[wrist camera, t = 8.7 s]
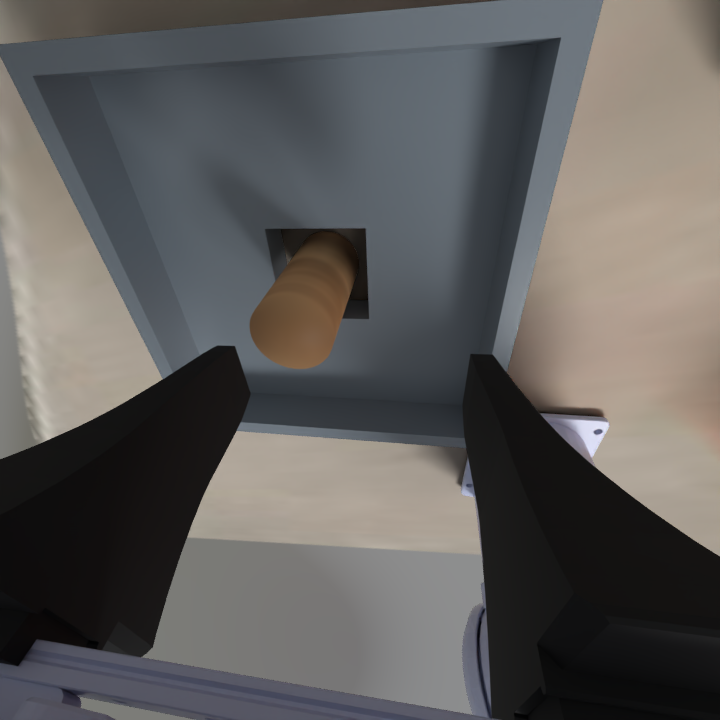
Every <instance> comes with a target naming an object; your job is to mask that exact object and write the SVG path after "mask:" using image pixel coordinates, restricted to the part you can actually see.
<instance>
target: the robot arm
mask: <svg viewBox="0 0 720 720" xmlns="http://www.w3.org/2000/svg"><path fill="white" fill-rule="evenodd" d="M250 395H251V393H250V390H249V387H248V384H247V381H246V378H245V375H244V372H243V369H242V365H241V362H240V359H239V356H238V353H237V350H236V347H235V346H221V345H217V346H215V347H213V348H211V349H210V350H208V351H206V352H205V353H203V354H201V355H200V356H198V357H197V358H195V359H193V360H192V361H190V362H189V363H187V364H186V365H184V366H183V367H181V368H180V369H178V370H176V371H175V372H173V373H172V374H170V375H169V376H167V377H166V378H164V379H163V380H161V381H159V382H158V383H156V384H155V385H153V386H151V387H150V388H148V389H146V390H145V391H143V392H141V393H140V394H138V395H136V396H135V397H133V398H131V399H130V400H128V401H126V402H125V403H123V404H121V405H119V406H118V407H116V408H114V409H112V410H110V411H108V412H106V413H105V414H103V415H101V416H99V417H97V418H95V419H93V420H91V421H89V422H87V423H85V424H83V425H81V426H79V427H77V428H74V429H72V430H70V431H68V432H65V433H63V434H61V435H58V436H56V437H54V438H52V439H49V440H47V441H45V442H43V443H40V444H38V445H36V446H34V447H31V448H29V449H26V450H24V451H21V452H19V453H16V454H13V455H11V456H8V457H6V458H3V459H0V720H115V719H113V718H111V717H110V716H108V715H105V714H101V713H98V712H93V711H90V710H86V709H82V708H81V701H80V698H79V697H84V698H89V699H94V700H99V701H104V702H109V703H114V704H119V705H124V706H129V707H135V708H140V709H145V710H150V711H155V712H160V713H165V714H170V715H175V716H180V717H186V718H190V719H196V720H720V556H718V555H716V554H715V553H713V552H712V551H710V550H708V549H707V548H705V547H704V546H702V545H700V544H699V543H697V542H696V541H694V540H693V539H691V538H690V537H688V536H687V535H685V534H684V533H682V532H681V531H680V530H678V529H677V528H675V527H674V526H672V525H671V524H669V523H668V522H667V521H665V520H664V519H662V518H661V517H659V516H658V515H656V514H655V513H654V512H652V511H651V510H649V509H648V508H647V507H645V506H644V505H643V504H641V503H640V502H639V501H637V500H636V499H634V498H633V497H632V496H630V495H629V494H628V493H627V492H625V491H624V490H623V489H622V488H620V487H619V486H618V485H617V484H615V483H614V482H613V481H611V480H610V479H609V478H608V477H606V476H605V475H604V474H603V473H602V472H600V471H599V470H598V469H597V468H596V467H595V465H594V462H593V460H592V457H593V455H594V453H595V452H596V450H597V448H598V446H599V444H600V442H601V441H602V439H603V437H604V435H605V433H606V432H607V430H608V428H609V425H610V424H609V422H608V420H607V419H606V418H604V417H594V416H577V415H561V414H544V413H539V412H538V411H537V410H536V409H535V407H534V406H533V405H532V404H531V403H530V401H529V400H528V399H527V398H526V397H525V396H524V394H523V393H522V392H521V391H520V389H519V388H518V387H517V386H516V384H515V383H514V382H513V381H512V379H511V378H510V377H509V375H508V374H507V373H506V371H505V370H504V369H503V367H502V366H501V364H500V363H499V362H498V360H497V359H496V358H495V357H494V356H493V354H470V359H469V366H468V372H467V379H466V385H465V391H464V398H463V404H462V408H463V426H464V438H465V443H466V449H467V454H468V458H467V462H466V467H465V472H464V476H463V481H462V486H461V493H462V494H463V495H465V496H473V497H474V498H475V506H476V514H477V522H478V530H479V538H480V546H481V554H482V562H483V570H484V571H483V572H484V582H483V583H481V590H482V599H483V603H482V604H478V605H477V606H475V607H474V608H473V609H472V611H471V613H470V615H469V618H468V622H467V625H466V628H465V631H464V636H463V646H462V647H463V648H462V656H463V657H462V659H463V672H464V679H465V686H466V691H467V695H468V700H469V703H470V707H471V711H472V714H473V715H470V714H464V713H458V712H453V711H447V710H441V709H436V708H430V707H424V706H418V705H413V704H407V703H401V702H395V701H390V700H384V699H377V698H372V697H367V696H361V695H355V694H349V693H344V692H337V691H332V690H326V689H321V688H315V687H309V686H303V685H297V684H292V683H286V682H280V681H274V680H268V679H263V678H257V677H251V676H246V675H240V674H233V673H228V672H223V671H217V670H211V669H205V668H199V667H194V666H188V665H182V664H177V663H171V662H165V661H159V660H153V659H148V658H142V656H143V655H145V654H146V653H147V652H148V651H149V650H150V649H151V648H152V647H153V644H154V640H155V637H156V632H157V629H158V626H159V622H160V619H161V615H162V612H163V608H164V605H165V602H166V598H167V594H168V591H169V588H170V585H171V582H172V579H173V576H174V573H175V570H176V567H177V564H178V561H179V558H180V555H181V552H182V549H183V547H184V544H185V541H186V538H187V536H188V533H189V530H190V528H191V525H192V522H193V520H194V517H195V515H196V512H197V510H198V507H199V505H200V502H201V500H202V497H203V495H204V493H205V491H206V489H207V486H208V484H209V482H210V480H211V478H212V476H213V475H214V473H215V471H216V469H217V467H218V465H219V463H220V461H221V459H222V457H223V456H224V454H225V452H226V450H227V448H228V446H229V444H230V442H231V440H232V439H233V437H234V435H235V433H236V431H237V429H238V427H239V425H240V423H241V421H242V418H243V415H244V413H245V410H246V407H247V404H248V401H249V398H250ZM78 696H79V697H78Z"/></svg>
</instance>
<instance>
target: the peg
mask: <svg viewBox="0 0 720 720" xmlns="http://www.w3.org/2000/svg"><path fill="white" fill-rule="evenodd" d="M358 268H359V259H358V255H357V252H356V250H355V248H354V246H353V245H352V244H351V243H350V242H349V241H348V240H347V239H346V238H345V237H343V236H342V235H340V234H337V233H334V232H329V231H322V232H317V233H315V234H312V235H311V236H309V237H308V238H307V239H306V240H305V241H304V242H303V244H302V245H301V247H300V248H299V249H298V251H297V252H296V254H295V255H294V256H293V258H292V259H291V260H290V262H289V263H288V265H287V266H286V267H285V269H284V270H283V271H282V273H281V274H280V276H279V277H278V278H277V280H276V281H275V283H274V284H273V285H272V287H271V288H270V289H269V291H268V292H267V294H266V295H265V296H264V298H263V299H262V300H261V302H260V303H259V305H258V306H257V307H256V309H255V310H254V312H253V313H252V316H251V318H250V326H249V328H250V334H251V337H252V339H253V342H254V343H255V345H256V347H257V348H258V349H259V350H260V351H261V353H262V354H264V355H265V356H266V357H267V358H268V359H270V360H271V361H273V362H275V363H277V364H279V365H281V366H284V367H288V368H293V369H307V368H311V367H315V366H317V365H319V364H320V363H322V362H323V361H324V360H325V359H326V358H327V357H328V356H329V354H330V352H331V350H332V347H333V344H334V341H335V338H336V335H337V332H338V329H339V326H340V323H341V320H342V317H343V314H344V311H345V308H346V305H347V302H348V299H349V296H350V293H351V290H352V287H353V284H354V281H355V278H356V275H357V272H358Z"/></svg>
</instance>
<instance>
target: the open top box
mask: <svg viewBox="0 0 720 720" xmlns="http://www.w3.org/2000/svg"><path fill="white" fill-rule="evenodd" d="M602 3H603V0H499V1H488V2H477V3H465V4H454V5H443V6H431V7H420V8H408V9H397V10H386V11H374V12H363V13H352V14H340V15H329V16H317V17H306V18H295V19H283V20H272V21H261V22H249V23H238V24H226V25H215V26H204V27H192V28H181V29H170V30H158V31H147V32H135V33H124V34H113V35H101V36H90V37H79V38H67V39H56V40H44V41H33V42H22V43H10V44H0V56H1V58H2V60H3V62H4V64H5V66H6V68H7V70H8V72H9V74H10V76H11V78H12V80H13V82H14V84H15V86H16V88H17V90H18V92H19V94H20V96H21V98H22V100H23V102H24V104H25V106H26V108H27V110H28V112H29V114H30V116H31V118H32V120H33V122H34V124H35V126H36V128H37V130H38V132H39V134H40V136H41V138H42V140H43V142H44V144H45V146H46V148H47V150H48V152H49V154H50V156H51V158H52V160H53V162H54V164H55V166H56V168H57V170H58V172H59V174H60V176H61V178H62V180H63V182H64V184H65V186H66V188H67V190H68V192H69V194H70V195H71V197H72V199H73V201H74V203H75V205H76V207H77V209H78V211H79V213H80V215H81V217H82V219H83V221H84V223H85V225H86V227H87V229H88V231H89V233H90V235H91V237H92V239H93V241H94V243H95V245H96V247H97V249H98V251H99V253H100V255H101V257H102V259H103V261H104V263H105V265H106V267H107V269H108V271H109V273H110V275H111V277H112V279H113V281H114V283H115V285H116V287H117V289H118V291H119V293H120V295H121V297H122V299H123V301H124V303H125V305H126V307H127V309H128V311H129V313H130V315H131V317H132V319H133V321H134V323H135V325H136V327H137V329H138V331H139V333H140V335H141V337H142V338H143V340H144V342H145V344H146V346H147V348H148V350H149V352H150V354H151V356H152V358H153V360H154V362H155V364H156V366H157V368H158V370H159V372H160V374H161V376H162V378H163V379H164V378H166V377H167V376H169V375H170V374H172V373H173V372H175V371H176V370H178V369H180V368H181V367H183V366H184V365H186V364H187V363H189V362H190V361H192V360H193V359H195V358H197V357H198V356H200V355H201V354H203V353H205V352H206V351H208V350H210V349H211V348H213V347H215V346H217V345H221V346H235V347H236V350H237V353H238V356H239V359H240V362H241V365H242V369H243V372H244V375H245V378H246V381H247V384H248V387H249V390H250V393H251V395H250V398H249V401H248V404H247V407H246V410H245V413H244V415H243V418H242V421H241V423H240V425H239V427H238V429H237V431H245V432H258V433H271V434H285V435H298V436H311V437H324V438H338V439H351V440H364V441H378V442H391V443H404V444H417V445H431V446H444V447H457V448H466V443H465V438H464V426H463V408H462V404H463V398H464V391H465V385H466V379H467V372H468V366H469V359H470V354H493V356H494V357H495V358H496V359H497V360H498V362H499V363H500V364H501V366H502V367H503V369H504V370H505V371H506V373H507V370H508V366H509V362H510V358H511V354H512V350H513V346H514V343H515V339H516V335H517V331H518V327H519V323H520V319H521V316H522V312H523V308H524V304H525V300H526V296H527V292H528V289H529V285H530V281H531V277H532V273H533V269H534V265H535V262H536V258H537V254H538V250H539V246H540V242H541V238H542V235H543V231H544V227H545V223H546V219H547V215H548V211H549V208H550V204H551V200H552V196H553V192H554V188H555V184H556V181H557V177H558V173H559V169H560V165H561V161H562V157H563V154H564V150H565V146H566V142H567V138H568V134H569V130H570V127H571V123H572V119H573V115H574V111H575V107H576V103H577V100H578V96H579V92H580V88H581V84H582V80H583V76H584V73H585V69H586V65H587V61H588V57H589V53H590V49H591V46H592V42H593V38H594V34H595V30H596V26H597V22H598V19H599V15H600V11H601V7H602ZM312 228H366V250H367V276H368V300H348V302H347V305H346V308H345V311H344V314H343V317H342V320H341V323H340V326H339V329H338V332H337V335H336V338H335V341H334V344H333V347H332V350H331V352H330V354H329V356H328V357H327V358H326V359H325V360H324V361H323V362H322V363H320V364H319V365H317V366H315V367H311V368H307V369H293V368H288V367H284V366H281V365H279V364H277V363H275V362H273V361H271V360H270V359H268V358H267V357H266V356H265V355H264V354H262V353H261V351H260V350H259V349H258V348H257V347H256V345H255V343H254V342H253V339H252V337H251V334H250V328H249V326H250V318H251V316H252V313H253V312H254V310H255V309H256V307H257V306H258V305H259V303H260V302H261V300H262V299H263V298H264V296H265V295H266V294H267V292H268V291H269V289H270V288H271V287H272V285H273V284H274V283H275V281H276V280H277V278H278V277H279V276H280V274H281V273H282V271H283V270H284V269H285V267H286V266H287V261H286V255H285V250H284V244H283V238H282V233H281V229H312Z"/></svg>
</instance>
